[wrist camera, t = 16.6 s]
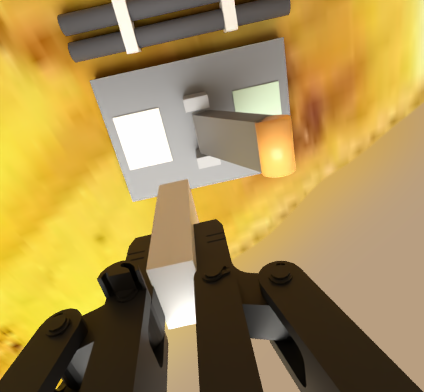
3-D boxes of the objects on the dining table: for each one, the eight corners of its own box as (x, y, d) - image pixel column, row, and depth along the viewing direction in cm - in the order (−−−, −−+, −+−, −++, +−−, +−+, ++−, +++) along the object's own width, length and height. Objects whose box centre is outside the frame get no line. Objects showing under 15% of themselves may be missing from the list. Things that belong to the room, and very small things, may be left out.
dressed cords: (80, 65, 31) (73, 65, 30) (60, 12, 29) (52, 9, 27) (285, 19, 31) (292, 16, 29) (281, -37, 29) (287, -44, 27)
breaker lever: (192, 152, 32) (277, 180, 22) (184, 115, 31) (271, 126, 20) (212, 144, 33) (303, 167, 23) (205, 108, 32) (299, 115, 21)
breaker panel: (135, 194, 38) (128, 214, 33) (94, 79, 32) (79, 83, 27) (289, 160, 38) (304, 175, 33) (277, 38, 32) (294, 35, 27)
